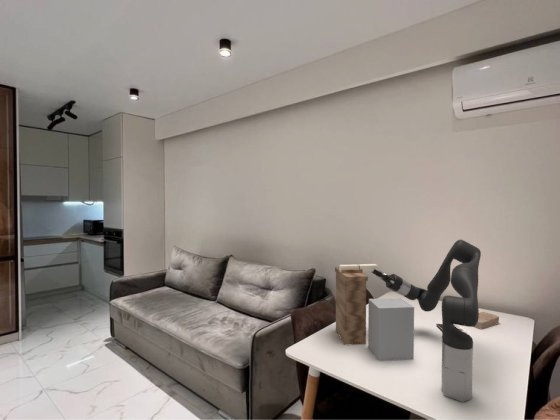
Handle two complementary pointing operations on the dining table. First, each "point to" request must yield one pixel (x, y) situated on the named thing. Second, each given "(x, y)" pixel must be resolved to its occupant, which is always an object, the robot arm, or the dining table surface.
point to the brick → (486, 320)
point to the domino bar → (360, 267)
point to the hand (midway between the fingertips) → (370, 269)
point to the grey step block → (391, 329)
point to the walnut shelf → (351, 305)
